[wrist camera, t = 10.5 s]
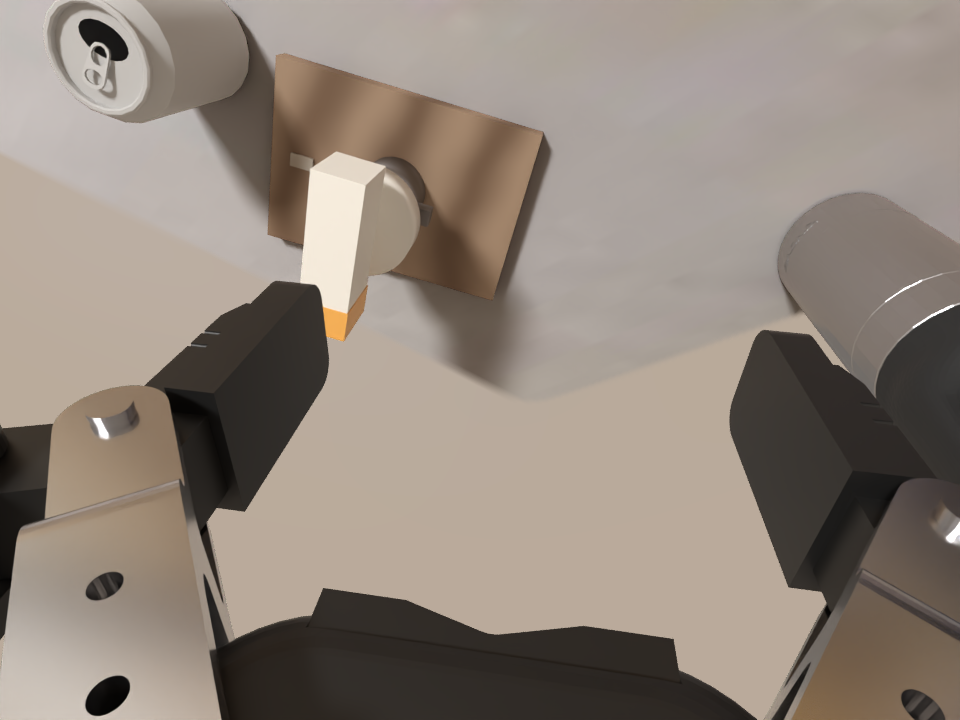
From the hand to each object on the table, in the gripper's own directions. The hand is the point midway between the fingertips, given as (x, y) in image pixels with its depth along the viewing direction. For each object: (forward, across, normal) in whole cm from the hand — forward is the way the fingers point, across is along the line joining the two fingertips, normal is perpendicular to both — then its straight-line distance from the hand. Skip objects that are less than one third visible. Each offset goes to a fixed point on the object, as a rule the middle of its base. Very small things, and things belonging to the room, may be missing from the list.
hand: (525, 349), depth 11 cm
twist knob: (+28, +12, +8) cm, 32 cm away
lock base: (+36, +12, +8) cm, 39 cm away
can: (+36, +26, -2) cm, 45 cm away
